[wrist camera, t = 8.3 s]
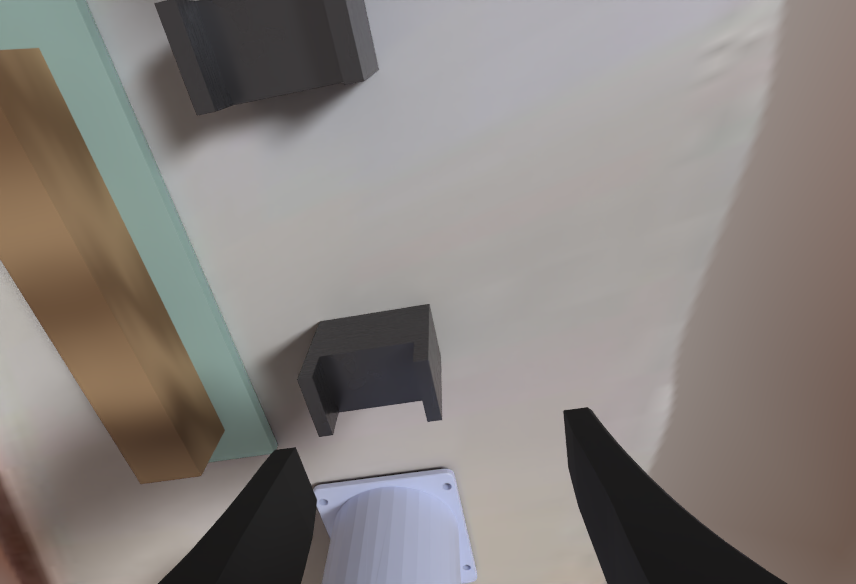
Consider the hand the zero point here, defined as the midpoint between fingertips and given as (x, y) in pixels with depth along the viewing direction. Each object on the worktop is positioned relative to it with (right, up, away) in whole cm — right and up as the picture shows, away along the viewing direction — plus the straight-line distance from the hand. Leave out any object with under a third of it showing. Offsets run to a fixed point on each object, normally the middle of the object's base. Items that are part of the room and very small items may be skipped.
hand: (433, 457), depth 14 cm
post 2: (-2, +2, +11) cm, 11 cm away
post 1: (-5, +13, +5) cm, 15 cm away
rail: (-14, +5, +9) cm, 17 cm away
